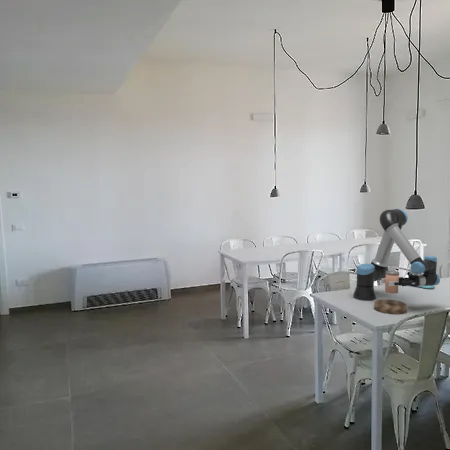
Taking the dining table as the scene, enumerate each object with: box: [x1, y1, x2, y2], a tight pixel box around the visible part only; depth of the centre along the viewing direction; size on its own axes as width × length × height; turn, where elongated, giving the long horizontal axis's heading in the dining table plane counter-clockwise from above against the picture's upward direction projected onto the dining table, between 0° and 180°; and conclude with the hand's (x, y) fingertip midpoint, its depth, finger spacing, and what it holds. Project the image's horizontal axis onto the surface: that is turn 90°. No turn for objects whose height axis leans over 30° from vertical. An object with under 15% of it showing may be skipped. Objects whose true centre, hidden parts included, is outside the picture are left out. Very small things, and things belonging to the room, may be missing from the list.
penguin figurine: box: [408, 268, 436, 289], centre depth 372 cm, size 20×11×15 cm, turn 43°
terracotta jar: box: [384, 270, 400, 294], centre depth 308 cm, size 8×8×13 cm
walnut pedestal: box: [373, 298, 408, 315], centre depth 310 cm, size 20×20×4 cm
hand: (385, 282), depth 307 cm, fingers closed on terracotta jar, 8 cm apart
